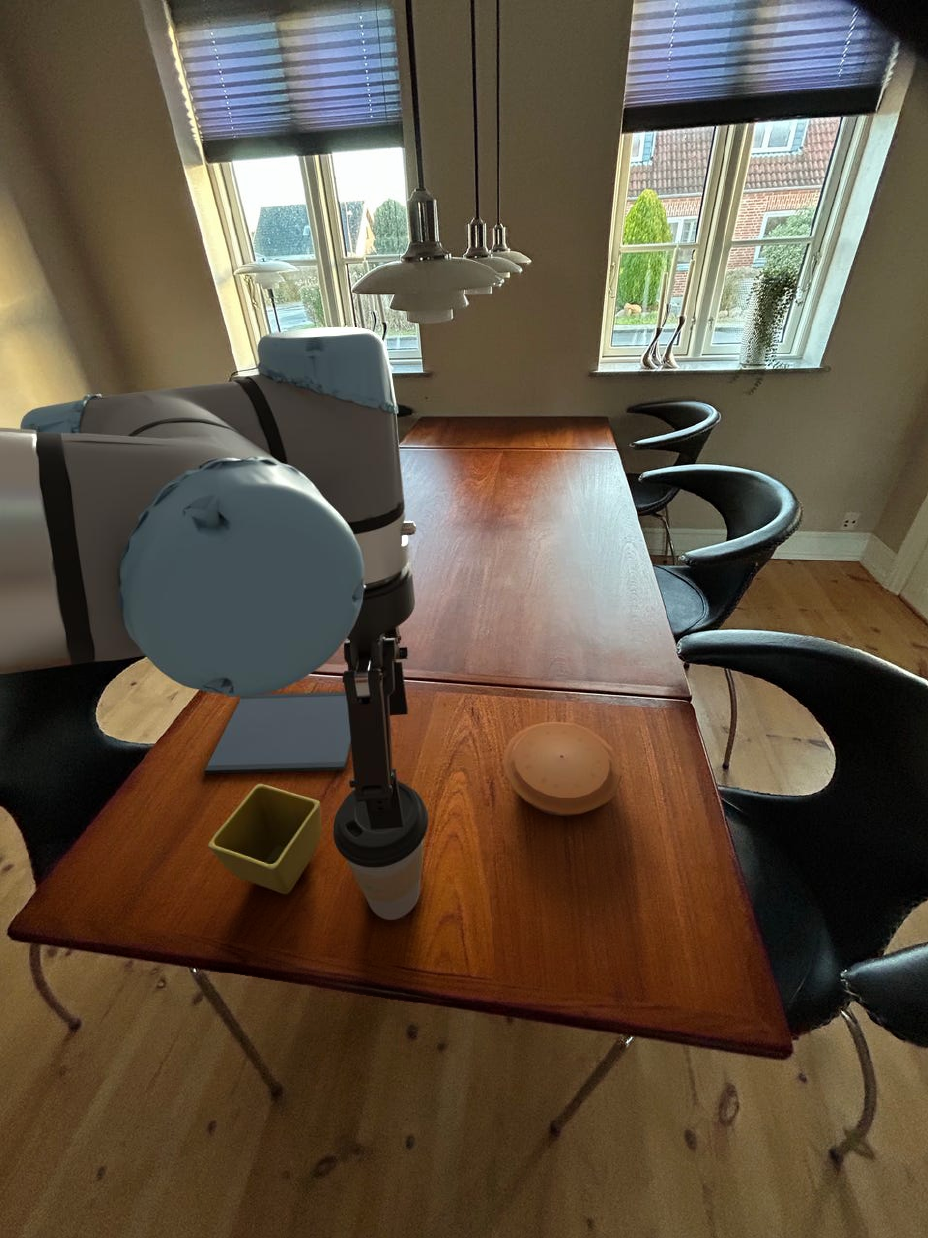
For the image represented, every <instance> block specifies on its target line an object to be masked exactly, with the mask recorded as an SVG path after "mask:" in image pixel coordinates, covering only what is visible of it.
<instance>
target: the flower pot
mask: <svg viewBox="0 0 928 1238" xmlns="http://www.w3.org/2000/svg"><path fill="white" fill-rule="evenodd" d="M322 828H323V827H322V814H321V802H320V801H319V800H317V799H313V798H311V797H307V796H305V795H303V796H302V795H300V794H297V793H293V792H290V791H286V790H284V789H280V788H276V787H273V786H270V785H267V784H264V783H258V784H257V785H255V786H254V787H253V788H252V790H250V792H249V793H248V794H247V795H246V797H245V798H244V799H243V800H242V802H241V803H240V804H239V805H238V806H237V807H236V809H234V811H233V812H232V814H231V815H230V816H229V817H228V818H227V820H226V821H225V822H224V823H223V825H221V827H220V828H219V829H218V830H217V831H216V833H215V834H214V835H213V837H212V838H211V839H210V841H209V843H208V844H207V847H208V848H209V849H210V850H211V852H212V853H213V855H214V856H215V857H216V858H217V860H219V862H220V863H221V864H222V866H223V867H224V868H225V869H226V870H227V872H229V873H230V874H232V875H234V876H235V877H237V878H239V879H242V880H244V881H246V882H248V883H249V882H250V883H252V884H255V885H257V886H260V887H263V888H266V889H268V890H271V891H274V892H277V893H278V894H281V895H288V894H289V893H290V892H291V891H292V890H293V888H294V887H295V885H296V883H297V882H298V881H299V879H300V877H301V876H302V874H303V872H304V871H305V870H306V868H307V866H308V865H309V863H310V862H311V860H312V859H313V857H314V855H315V854H316V851H317V849H318V846H319V844H320V840H321V837H322Z"/></svg>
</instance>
